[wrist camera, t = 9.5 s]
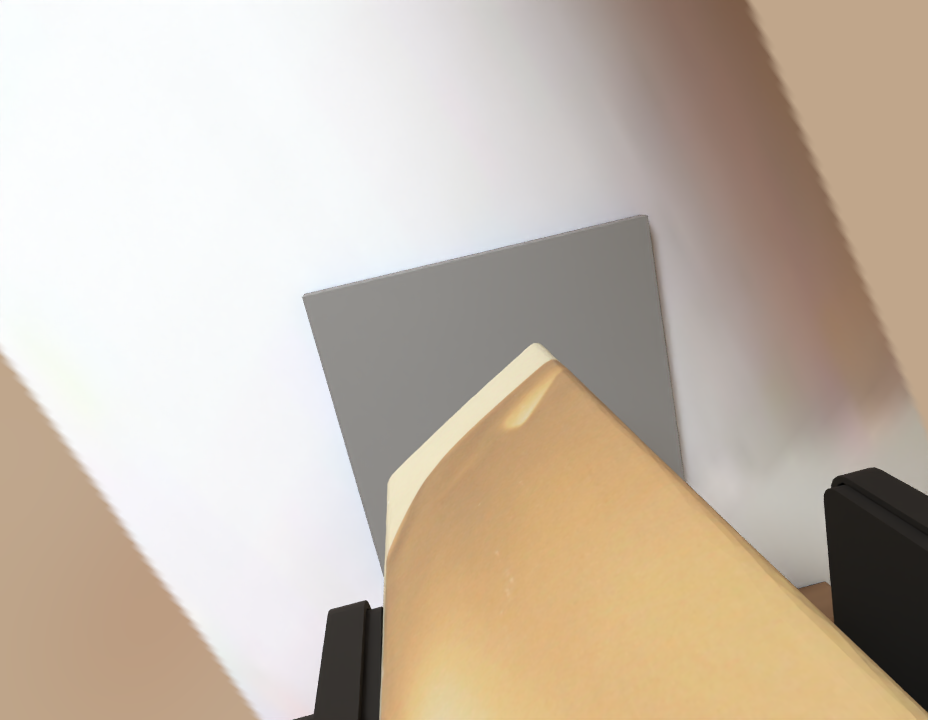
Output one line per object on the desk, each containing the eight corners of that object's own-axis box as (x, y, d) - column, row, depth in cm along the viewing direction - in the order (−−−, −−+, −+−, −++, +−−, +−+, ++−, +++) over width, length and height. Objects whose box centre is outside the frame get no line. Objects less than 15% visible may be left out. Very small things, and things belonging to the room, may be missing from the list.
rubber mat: (304, 294, 17) (302, 296, 16) (640, 214, 17) (647, 215, 17) (390, 590, 19) (390, 600, 19) (683, 513, 20) (690, 522, 19)
